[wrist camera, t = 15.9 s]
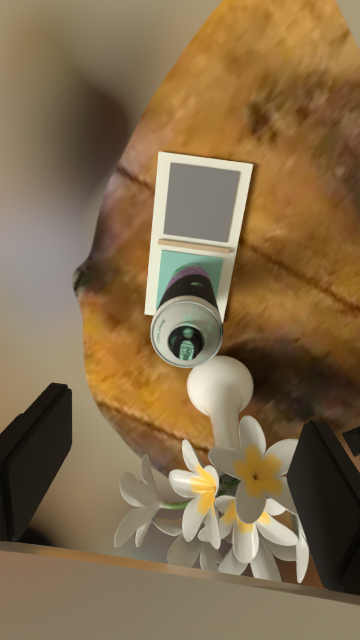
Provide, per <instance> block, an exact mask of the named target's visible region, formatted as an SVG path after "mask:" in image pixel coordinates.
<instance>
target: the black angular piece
mask: <svg viewBox="0 0 360 640" xmlns="http://www.w3.org/2000/svg"><path fill="white" fill-rule="evenodd" d="M342 435H343V437H344V439H345V441H346V443H347V444H348V446H349V448H350V450H351V452H352V454H353V455H354V457H356V456H358V455H360V427H357V428H355V429H352V430H350V431H347V432H345V433H342Z"/></svg>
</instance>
